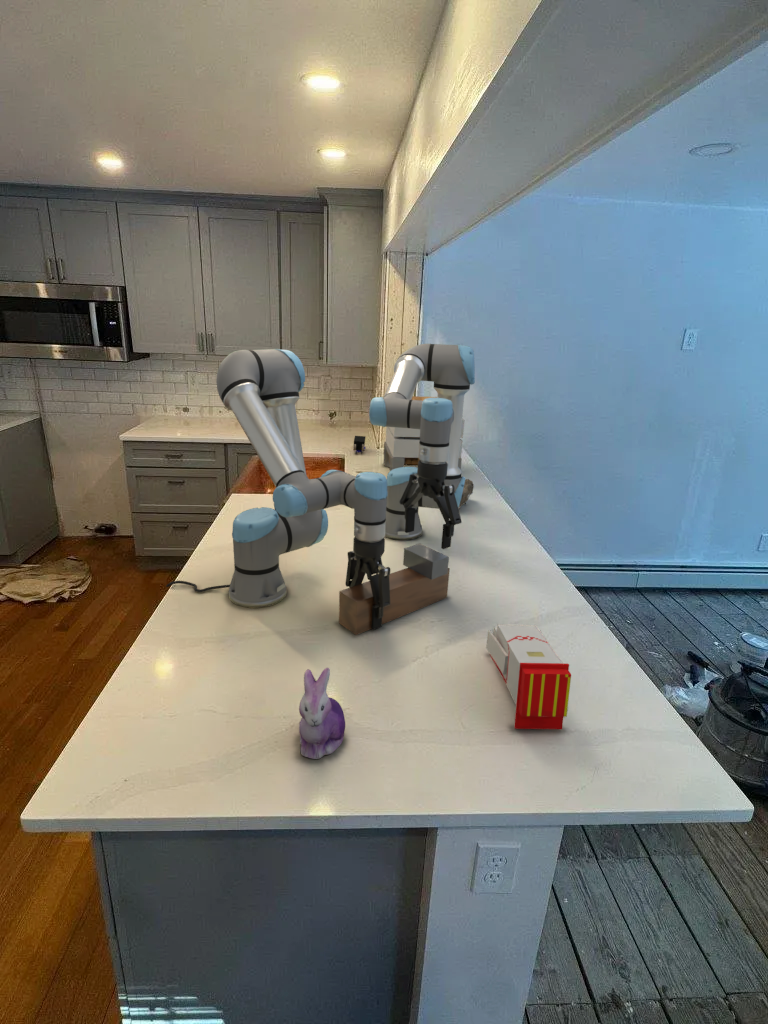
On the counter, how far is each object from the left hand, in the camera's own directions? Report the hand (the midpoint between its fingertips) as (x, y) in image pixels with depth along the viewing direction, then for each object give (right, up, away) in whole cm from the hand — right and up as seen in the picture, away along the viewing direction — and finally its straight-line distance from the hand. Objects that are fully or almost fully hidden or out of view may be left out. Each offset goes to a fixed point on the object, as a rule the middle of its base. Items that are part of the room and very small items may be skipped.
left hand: (366, 620), depth 143 cm
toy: (+34, -10, -22) cm, 41 cm away
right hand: (+16, +20, +6) cm, 26 cm away
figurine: (-7, -15, -40) cm, 43 cm away
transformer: (+22, +46, +132) cm, 141 cm away
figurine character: (-9, +61, +167) cm, 178 cm away
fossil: (+34, +31, +90) cm, 101 cm away
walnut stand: (+8, +2, +6) cm, 10 cm away
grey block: (+16, +12, +10) cm, 22 cm away
